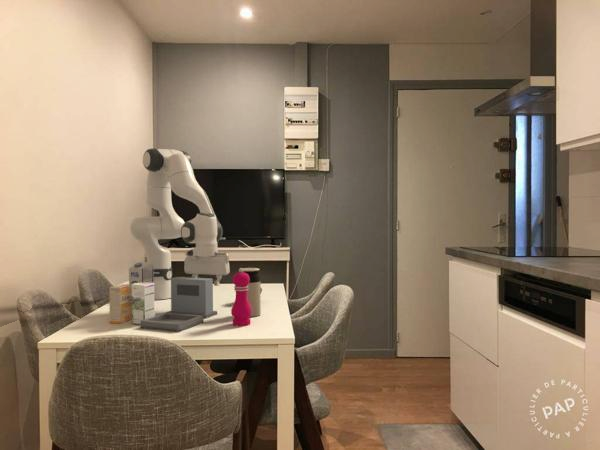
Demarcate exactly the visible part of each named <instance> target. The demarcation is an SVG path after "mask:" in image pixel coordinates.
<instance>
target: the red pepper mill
mask: <svg viewBox="0 0 600 450" xmlns="http://www.w3.org/2000/svg"><path fill="white" fill-rule="evenodd" d="M243 271H244V269H243V268H242V267H240V268H239V269H238V272H236V273H235V274H234V275H233V276H232V283H233V284H234V286H233V288H234V289H233V290H234V291H235V300H234V302H233V304H232V306H231V312H230V313H231V316H232V317H233V318H232V325H233V326H235V327H246V326H249V325H250V324H251V317H249V316H250V315H251V313H252V309H251V306H250V304H249V302H248V299H247V290H248V286H247V285H248V283H249V282H250V277H249V275H248V274H247V273H244V272H243Z"/></svg>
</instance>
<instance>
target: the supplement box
mask: <svg viewBox="0 0 600 450" xmlns="http://www.w3.org/2000/svg"><path fill="white" fill-rule="evenodd" d="M108 291H109V324H123V323H125V322H127V321H130V320H132V285H129V283H128V284H126V283H125V284H119V285H115V286H110V287H109V290H108Z"/></svg>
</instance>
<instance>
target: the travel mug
mask: <svg viewBox="0 0 600 450" xmlns="http://www.w3.org/2000/svg"><path fill="white" fill-rule="evenodd" d="M243 269H244V271H243V272H244V273H247V274H248V275H249V277H250V282H249V283H248V285H247V286H248V290H247V299H248V302H249V304H250V306H251V309H252V313H251V315H250V316H249V318H254V317H258V316H261V315H262V314H261V312H262V311H261V309H262V308H261V294H260V287H261V276H260V274H259V273H260V268H258V267H244V268H243Z"/></svg>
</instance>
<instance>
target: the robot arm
mask: <svg viewBox="0 0 600 450" xmlns="http://www.w3.org/2000/svg"><path fill="white" fill-rule="evenodd" d="M142 165H143V166H144V168H145V169H146V170H147V171H148V172H147V181H146V202H147V205H148V206H149V207H150V208H152V209H154V210H156V211H158V213H159V216H142V217H141V216H140V217H136V218H134V219H132V222H130V226H129V231H130V234H131V236H133V238H134V239H136V240H137V241H138V242H140V244H141V245H142V246H143V248H144V250H145V255H146V262H152V263H154V301H155V300H157V301H158V300H167V299H171V278H173V268H172V253H171V251H170V249H168V248H167V247H165V246H162V245H160V243H159V240H173V239H178V238H181V239H182V240H183V241H184V242H185V243H187V244H195V247H194V248H191V249H189V250H186V251H184V255H185V259H184V262H183V263H184V266H183V268H184V273H185V274H190V275H191V277H192V278H198V276H199V275H210V276H215V277H216V280H215V281H213V287H219V286H220V282H221V279H222V277H223V276H227V275H229V274H230V273H231V271H230V269H231V268H230V267H231V266H230V262H229V260H230V256H229V254H227V253H226V252H225V251H222V252H220V251H219V250H218V242H219V241H220V240H221V238H222V237H223V233H224V230H223V227H222V224H221V223H220V221H219V219H218V218H217V215H216V213H215V211H214V208H213V206H212V203H211V201H210V199H209V196H208V195H207V192H206V191H205V190H204V188H202V186H200V184H199V182H198V181H197V180H196V176H195V173H194V169H193V167H192V158H191V156H190V153H188V152H187V151H184V150H177V149H174V148H173V149H172V148H155V147H154V148H148V149H146V151H145V152H144V153H143V156H142ZM172 192H173V193H174V194H175V196H178V197H179V198H182V199H183V200H187V201H189V202H192V203H193V204H195V205H196V206H197V207H198V210H199V212H198V213H196V216H195V217H194V218H192V219H190V220H188V221H184V219H183V218H182V217H180V216H179V215H178V213H177V212H176V211H175V209H174V207H173V203H172V202H173V201H172Z"/></svg>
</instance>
